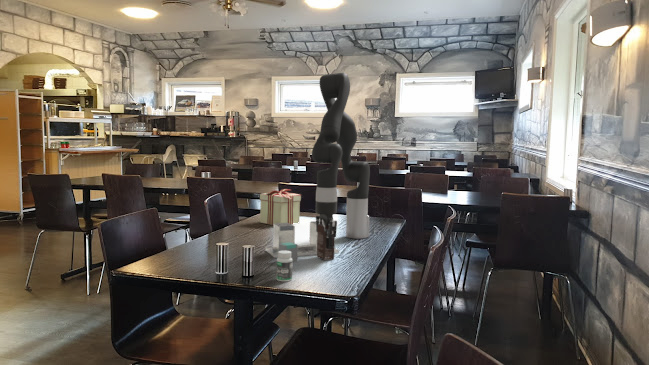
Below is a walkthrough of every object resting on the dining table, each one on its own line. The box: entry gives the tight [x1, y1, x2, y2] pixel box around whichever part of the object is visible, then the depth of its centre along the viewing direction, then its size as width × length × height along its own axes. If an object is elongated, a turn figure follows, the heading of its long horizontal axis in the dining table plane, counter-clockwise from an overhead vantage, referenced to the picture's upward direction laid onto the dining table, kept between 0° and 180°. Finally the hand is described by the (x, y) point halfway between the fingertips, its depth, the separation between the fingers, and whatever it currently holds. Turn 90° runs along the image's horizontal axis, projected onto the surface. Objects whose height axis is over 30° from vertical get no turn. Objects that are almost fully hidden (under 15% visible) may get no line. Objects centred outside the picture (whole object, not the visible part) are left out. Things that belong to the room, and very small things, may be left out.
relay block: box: [279, 242, 298, 263], centre depth 165 cm, size 5×4×6 cm
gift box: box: [259, 188, 302, 226], centre depth 243 cm, size 17×18×17 cm
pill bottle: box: [275, 250, 294, 283], centre depth 143 cm, size 5×5×8 cm
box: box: [316, 224, 336, 261], centre depth 170 cm, size 6×4×12 cm
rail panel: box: [265, 220, 340, 259], centre depth 179 cm, size 25×12×11 cm, turn 112°
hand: (325, 246), depth 170 cm, fingers closed on box, 6 cm apart
